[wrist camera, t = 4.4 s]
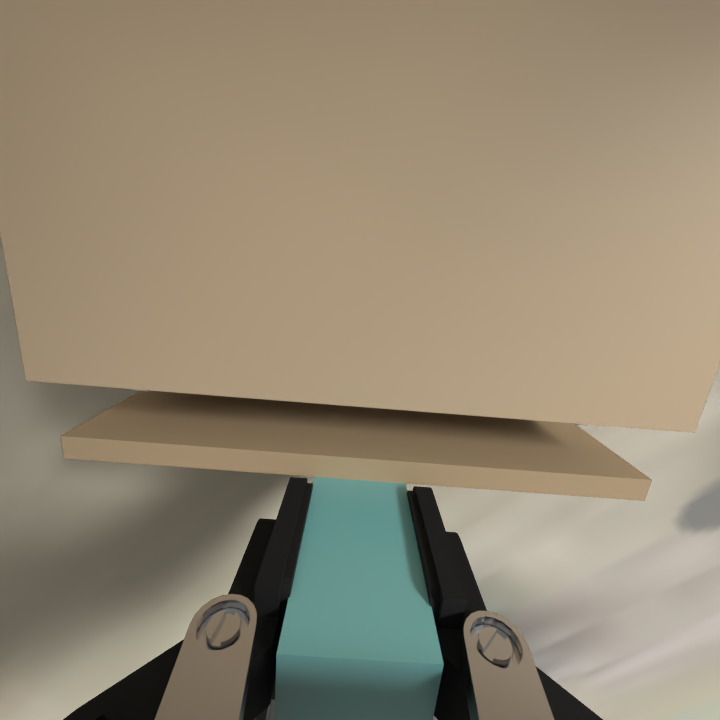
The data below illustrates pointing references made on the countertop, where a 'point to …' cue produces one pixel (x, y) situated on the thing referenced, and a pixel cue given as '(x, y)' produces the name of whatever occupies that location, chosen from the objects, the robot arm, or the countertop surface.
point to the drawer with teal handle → (356, 521)
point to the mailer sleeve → (369, 202)
